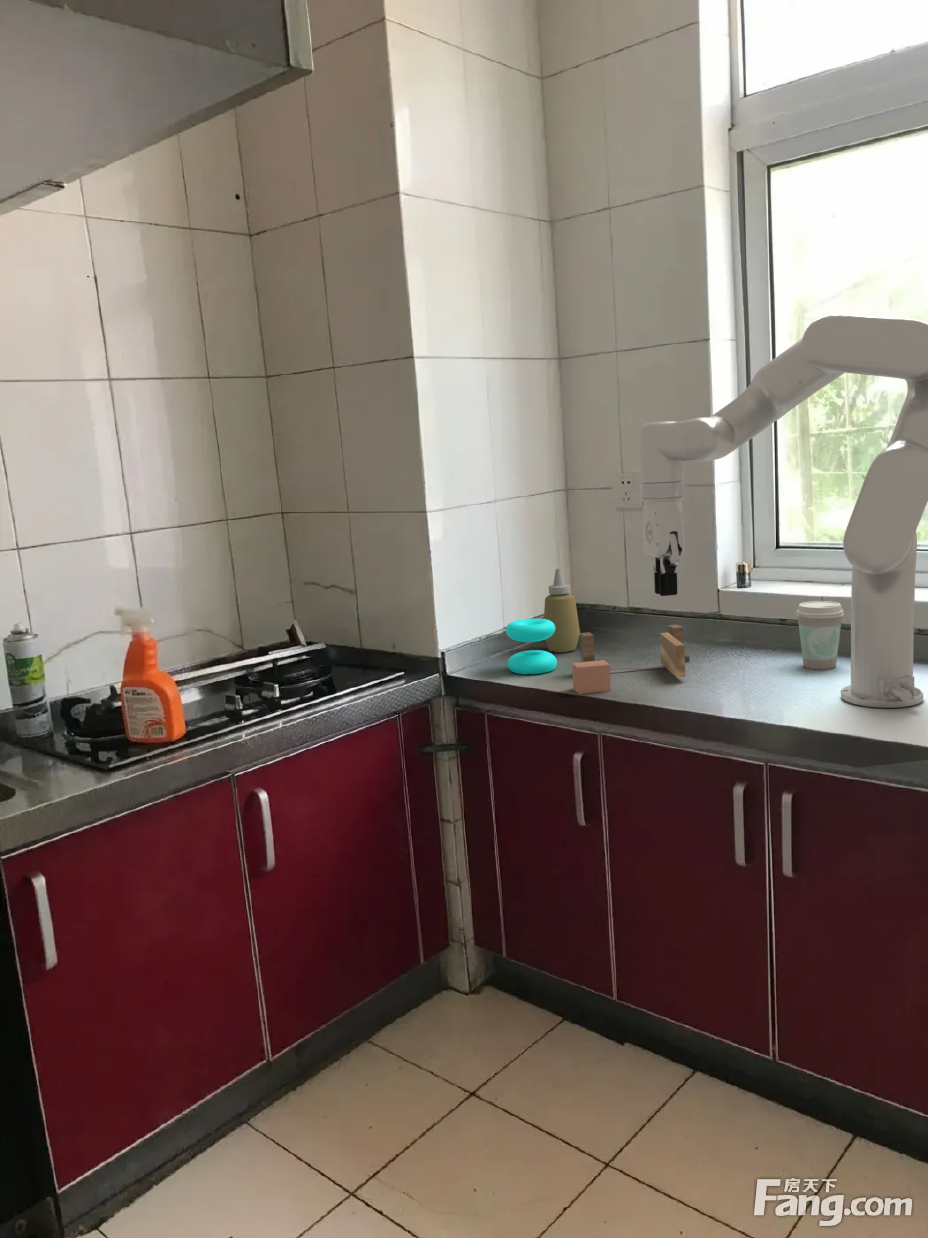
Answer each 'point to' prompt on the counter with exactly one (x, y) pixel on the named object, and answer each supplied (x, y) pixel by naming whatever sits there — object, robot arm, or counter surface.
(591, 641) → the door frame
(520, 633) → the donuts
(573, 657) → the counter surface
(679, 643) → the door
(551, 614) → the squeeze bottle
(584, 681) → the salmon pink block
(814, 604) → the coffee cup
